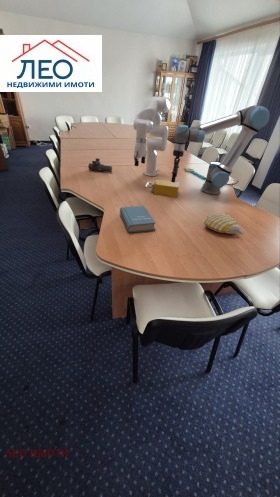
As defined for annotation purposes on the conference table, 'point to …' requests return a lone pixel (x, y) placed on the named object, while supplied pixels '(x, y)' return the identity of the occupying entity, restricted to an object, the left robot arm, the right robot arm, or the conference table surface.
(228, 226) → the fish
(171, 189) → the cabinet
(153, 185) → the drawer
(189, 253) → the conference table surface
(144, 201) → the conference table surface
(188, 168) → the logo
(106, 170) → the laser sight
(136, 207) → the book
